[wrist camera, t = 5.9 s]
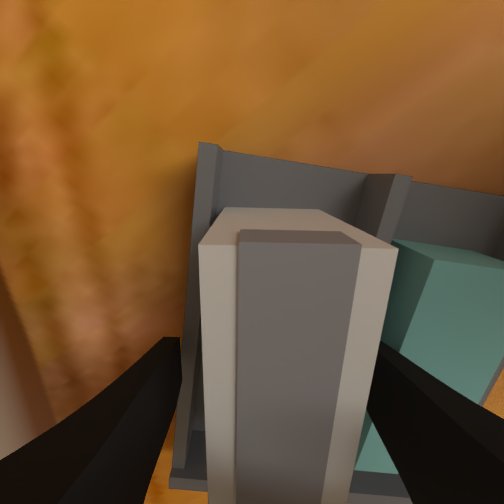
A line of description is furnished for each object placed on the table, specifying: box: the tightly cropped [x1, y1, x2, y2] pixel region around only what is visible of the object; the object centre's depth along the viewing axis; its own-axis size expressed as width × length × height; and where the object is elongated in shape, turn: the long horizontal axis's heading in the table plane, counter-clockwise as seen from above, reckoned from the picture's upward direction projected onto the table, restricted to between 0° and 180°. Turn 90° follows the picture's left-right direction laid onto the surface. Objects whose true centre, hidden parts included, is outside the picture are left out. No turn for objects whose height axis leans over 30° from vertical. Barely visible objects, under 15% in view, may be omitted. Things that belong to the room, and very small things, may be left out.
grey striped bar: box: [198, 207, 399, 504], centre depth 9 cm, size 4×10×6 cm, turn 179°
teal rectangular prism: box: [354, 239, 504, 474], centre depth 11 cm, size 4×10×3 cm, turn 171°
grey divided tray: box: [169, 142, 504, 504], centre depth 12 cm, size 14×16×3 cm
